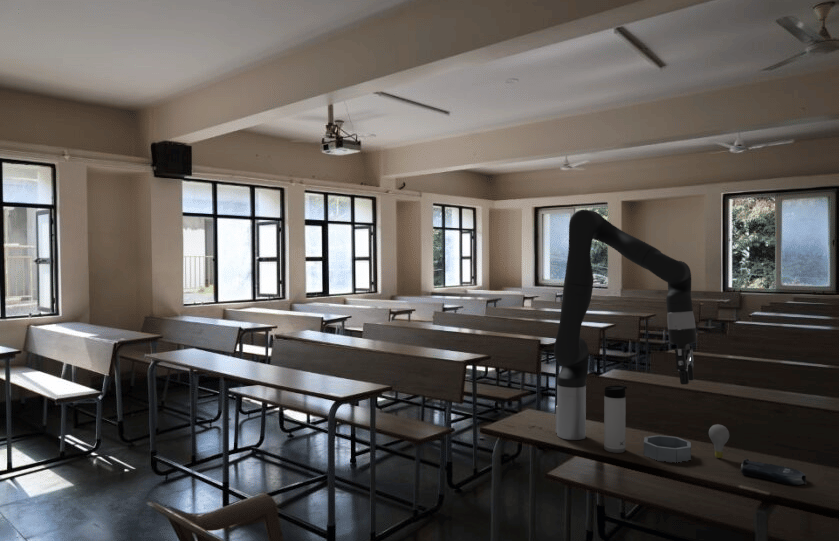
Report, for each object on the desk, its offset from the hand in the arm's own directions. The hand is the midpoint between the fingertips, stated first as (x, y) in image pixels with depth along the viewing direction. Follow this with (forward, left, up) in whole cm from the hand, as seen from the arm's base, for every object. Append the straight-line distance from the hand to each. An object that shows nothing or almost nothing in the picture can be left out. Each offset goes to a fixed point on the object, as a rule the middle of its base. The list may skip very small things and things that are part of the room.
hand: (687, 382), depth 179 cm
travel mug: (-15, -14, -23) cm, 31 cm away
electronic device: (+20, +10, -23) cm, 32 cm away
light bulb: (+3, +9, -23) cm, 25 cm away
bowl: (-5, -3, -23) cm, 23 cm away
